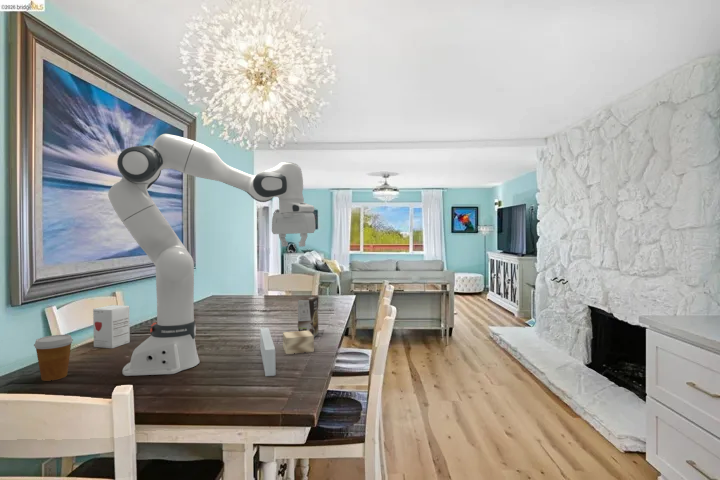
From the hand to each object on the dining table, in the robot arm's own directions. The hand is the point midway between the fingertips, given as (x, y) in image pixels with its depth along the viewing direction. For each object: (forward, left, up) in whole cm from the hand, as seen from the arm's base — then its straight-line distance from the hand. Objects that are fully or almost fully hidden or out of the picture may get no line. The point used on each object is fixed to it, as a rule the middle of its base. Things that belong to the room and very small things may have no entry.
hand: (293, 246), depth 147 cm
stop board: (-10, -7, -39) cm, 40 cm away
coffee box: (+9, +22, -39) cm, 46 cm away
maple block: (+2, +4, -39) cm, 39 cm away
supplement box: (-67, +33, -39) cm, 84 cm away
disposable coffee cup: (-73, -3, -39) cm, 83 cm away
